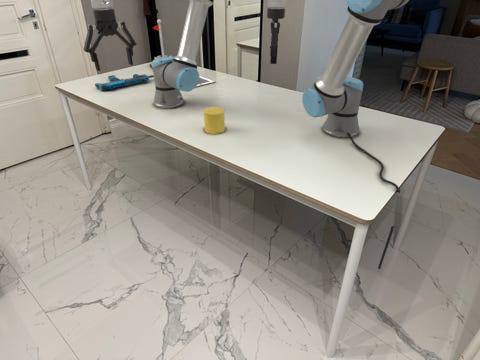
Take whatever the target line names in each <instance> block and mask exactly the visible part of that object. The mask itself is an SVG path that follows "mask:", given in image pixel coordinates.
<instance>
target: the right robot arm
mask: <svg viewBox="0 0 480 360" xmlns="http://www.w3.org/2000/svg"><path fill="white" fill-rule="evenodd" d="M265 1H266V2H267V9H266V18H267V19H270V20H271V21H270V34H271V36H270V40H271V41H270V46H269V49H270V53H269V56H270V59H269V60H270V61H269V64H270V65H277V62H278V48H279V44H278V43H279V34H280V28H281V22H279V20H283V19H285V16H286V4H287V0H265ZM409 1H410V0H346V4H347V8H346V12H347V14H348V17H347V19H346V22H345V24H344V26H343V28H342V30H341V33H340V34H339V37H338V39H337V42H336V43H335V45H334V48H333V51H332V52H331V55H330V57H329V59H328V61H327V64H326V65H325V68H324V70H323V72H322V74H321V75H319V76H317V77H316V78H315V81H314V82H313V85H312V86H311V87H308V88H307V89H305V90H304V91H303V93H302V97H301V101H302V105H303V109H304V111H305V112H306V113H307V114H308V115H309V116H310V117H312V118H322V117H325V116H327V117H326V120H325V121H324V123H323V126H322V130H323V132H324V133H325V134H326V135H329V136H332V137H335V138H339V139H341V138H342V139H350V141H351V143H352V145H353V146H354V147H355V148H357V149H358V150H359V151H361V152H362V153H364V154H365V155H367V156H368V157H369V158H371V159H372V160H374V161H375V162H377V163H378V164H379V165H380V170H379V173H378V177H379V179H380V180H381V181H382V182H384V183H387V184H390V185H391V186H393V187H394V188H395V189H396V192H397V193H399V194H400V193H401V189H400V187H399V186H398V184H396V183H395V182H393V181H391V180H388V179H386V178H384V177H383V172H384V169H385V166H384V164H383V162H382V161H381V160H380V159H378V158H377V157H376V156H374V155H372V154H371V153H369V152H368V151H367V150H365V149H364V148H362V147H360V146H359V145H358V144H357V143H356V142H355V140H354V137H356V136H357V135H359V132H360V125H359V118H358V117H359V116H358V114H359V111H360V110H359V109H360V105H361V100H362V95H363V92H364V82H363V81H362V79H359V78H355V77H353V76H349V75H350V72H351V70H352V68H353V66H354V64H355V63H356V61H357V58H358V57H359V56H360V53H361V51H362V49H363V47H364V46H365V43H366V42H367V40H368V38H369V35H370V34H371V32H372V30H373V28H374V26H377V25H379V24H381V23H382V22H383V19H384V18H385V16H386V15H387V12H388V11H390V10H391V11H392V10H396V9H399V8H401V7H403V6H405V5H406V4H407V3H408V2H409ZM394 229H395V225H393V226H390V229H389V233H388V236H387V240H386V243H385V246H384V248H383V251H382V254H381V257H380V261H379V263H378V267H377V270H381V269H382V265H383V263H384V258H385V255H386V253H387V251H388V248H389V245H390V242H391V238H392V236H393V232H394Z"/></svg>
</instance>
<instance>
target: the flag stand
mask: <svg viewBox="0 0 480 360" xmlns="http://www.w3.org/2000/svg"><path fill="white" fill-rule="evenodd" d="M156 22H157V24H156V25H155V26H153V27H152V29H154V30H156V31H157V32H159V40H160V48H161V55H157V56H154V57H153V60H155V59H158V58H164V57H173V55H169V56H168V54H167V55H165V48H164V39H163V31H162V19H160V18H159V19H157V20H156Z"/></svg>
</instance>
